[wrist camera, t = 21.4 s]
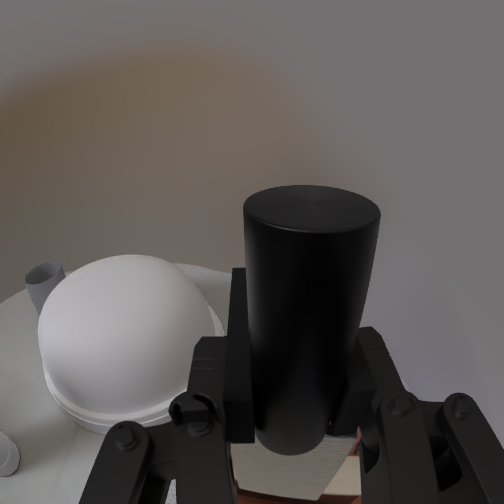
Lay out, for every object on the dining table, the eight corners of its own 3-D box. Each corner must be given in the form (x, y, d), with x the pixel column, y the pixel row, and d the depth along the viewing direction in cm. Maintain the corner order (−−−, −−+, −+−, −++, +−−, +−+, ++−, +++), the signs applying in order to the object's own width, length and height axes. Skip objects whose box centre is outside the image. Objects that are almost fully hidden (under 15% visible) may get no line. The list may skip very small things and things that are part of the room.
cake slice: (350, 476, 23) (365, 456, 20) (346, 507, 20) (361, 494, 17) (222, 457, 27) (215, 435, 24) (210, 486, 23) (200, 469, 20)
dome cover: (18, 397, 31) (-30, 329, 24) (97, 291, 57) (78, 230, 50) (212, 462, 27) (186, 398, 20) (246, 303, 53) (243, 231, 46)
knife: (321, 480, 14) (420, 196, 6) (314, 513, 12) (460, 246, 4) (245, 468, 16) (212, 180, 7) (234, 501, 13) (158, 219, 5)
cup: (66, 330, 46) (46, 285, 41) (36, 327, 46) (16, 284, 41) (83, 303, 53) (68, 260, 48) (54, 302, 53) (38, 261, 48)
